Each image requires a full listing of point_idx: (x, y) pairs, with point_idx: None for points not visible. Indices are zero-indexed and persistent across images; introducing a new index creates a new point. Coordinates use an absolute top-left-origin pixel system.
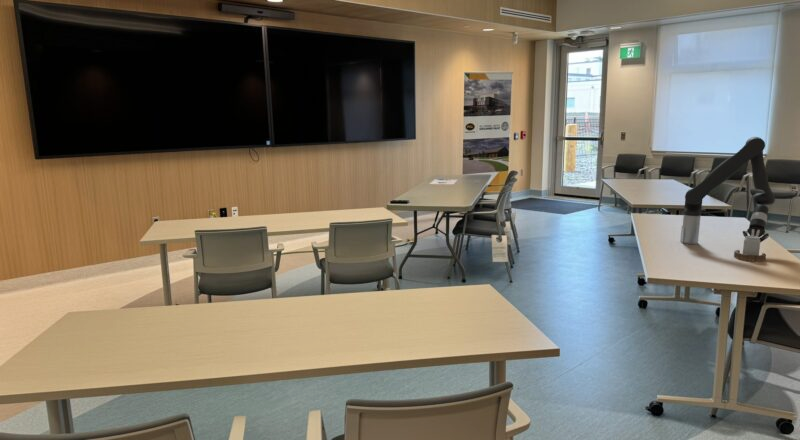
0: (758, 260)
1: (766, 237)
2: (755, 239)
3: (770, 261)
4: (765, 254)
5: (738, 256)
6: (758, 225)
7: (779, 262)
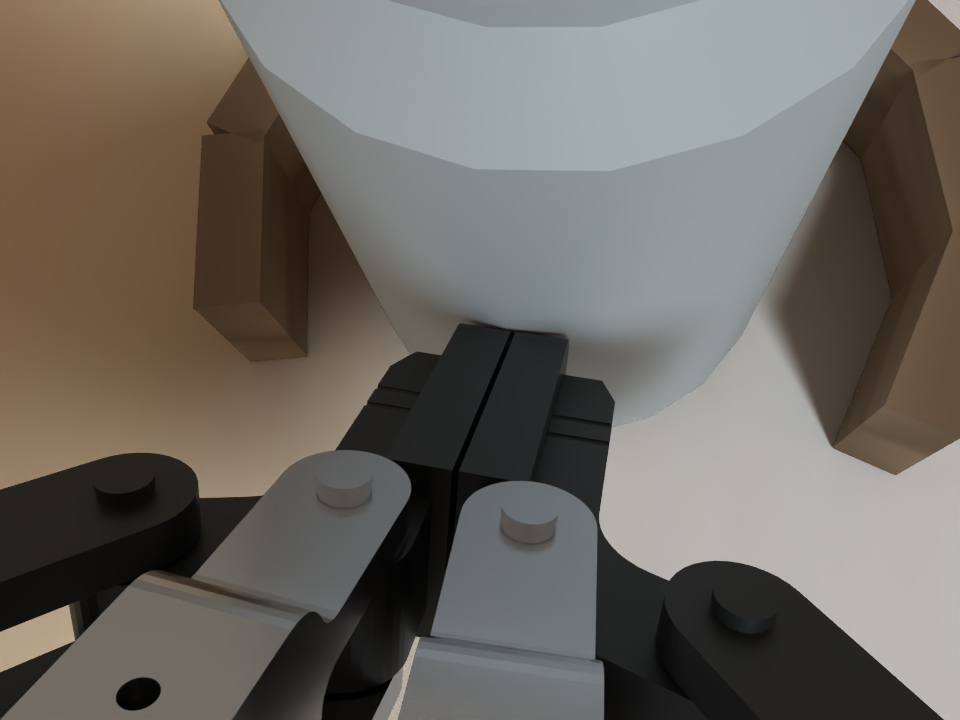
0: None
1: None
2: None
3: (168, 154)
4: (206, 172)
5: None
6: None
7: (6, 154)
